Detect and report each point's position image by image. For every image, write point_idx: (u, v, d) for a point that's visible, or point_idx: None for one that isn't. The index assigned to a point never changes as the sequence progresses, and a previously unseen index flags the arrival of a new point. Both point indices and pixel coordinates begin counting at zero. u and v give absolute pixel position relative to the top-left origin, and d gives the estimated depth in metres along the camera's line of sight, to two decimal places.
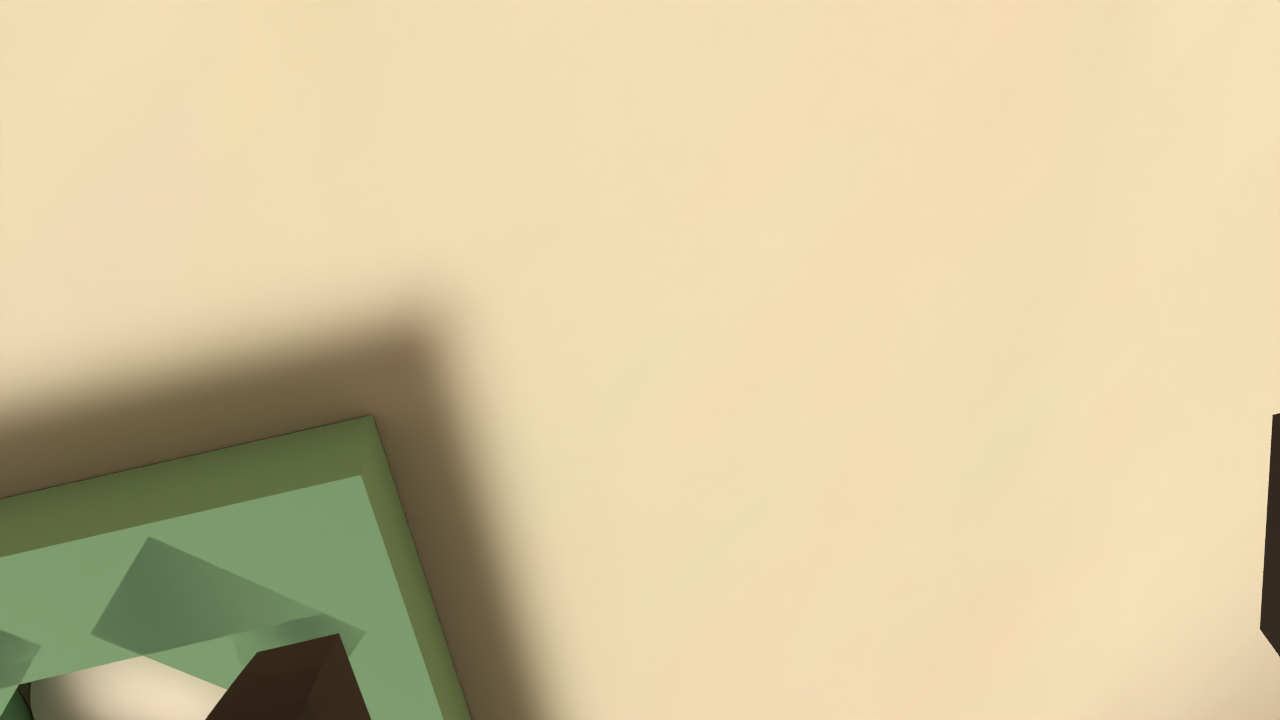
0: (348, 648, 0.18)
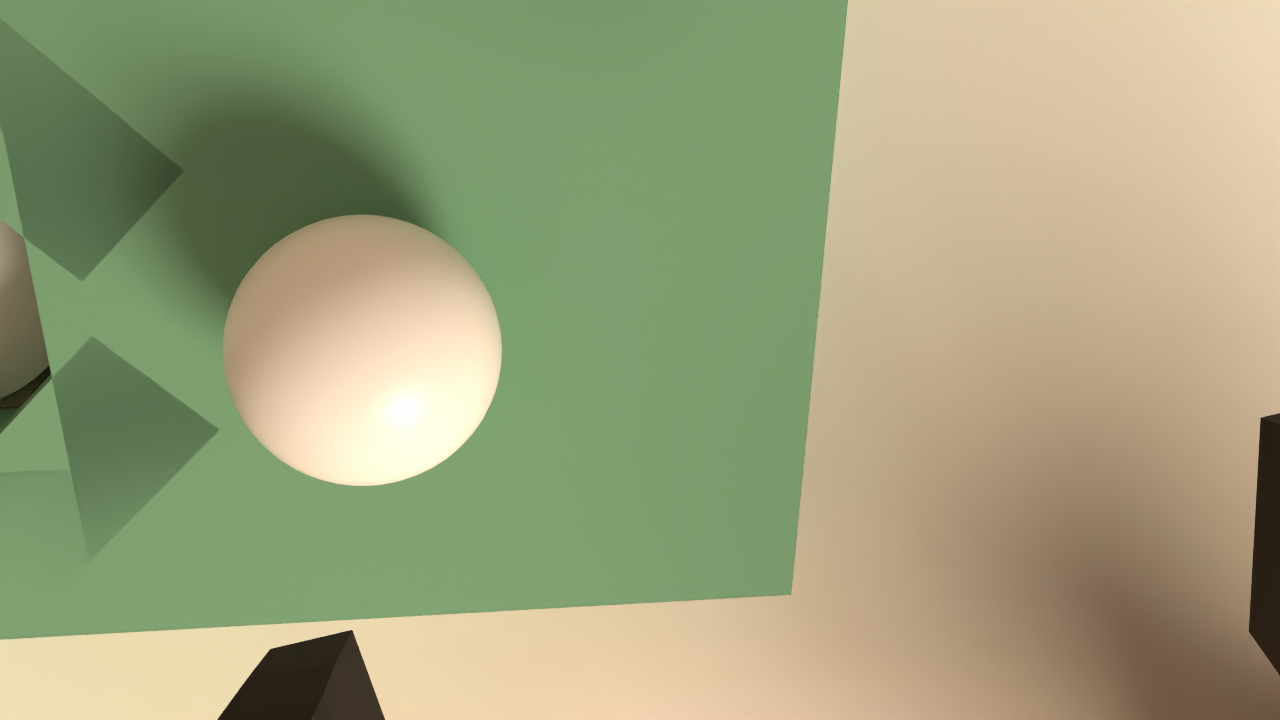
0: None
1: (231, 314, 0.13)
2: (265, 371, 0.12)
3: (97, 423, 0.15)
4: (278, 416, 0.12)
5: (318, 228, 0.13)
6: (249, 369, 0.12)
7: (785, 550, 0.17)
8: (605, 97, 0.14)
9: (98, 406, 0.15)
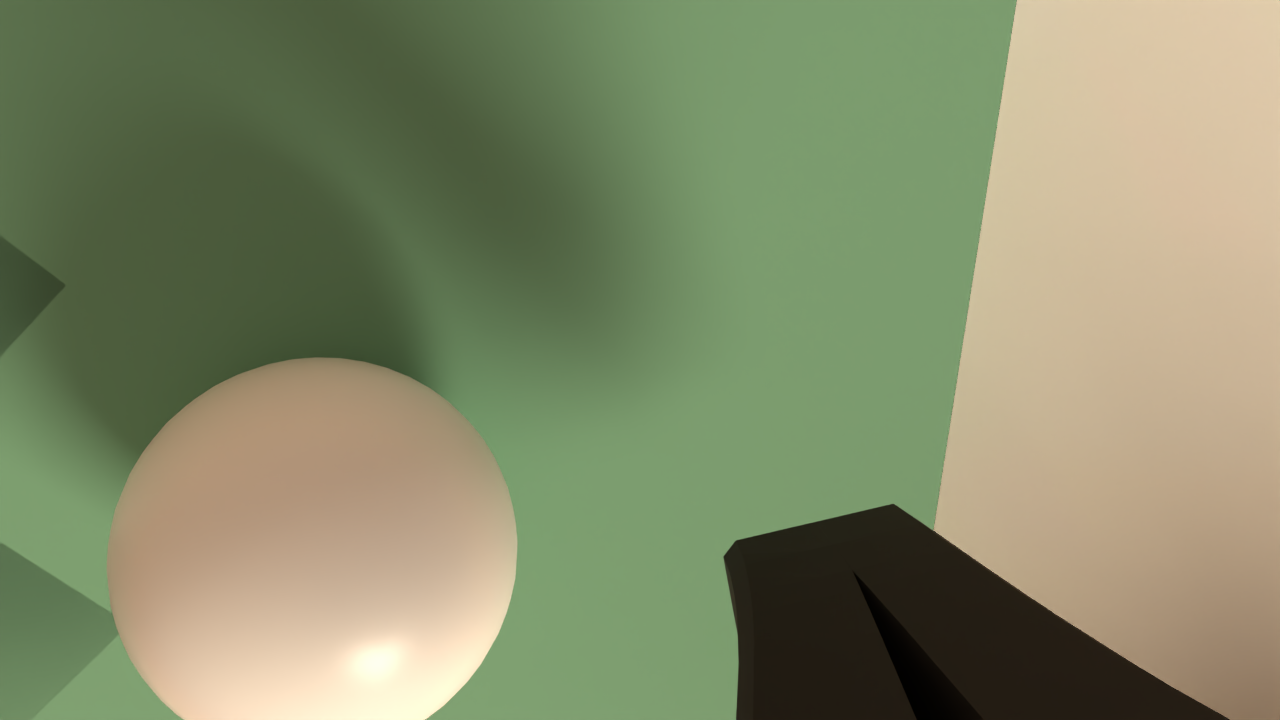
0: None
1: (116, 518, 0.08)
2: (160, 619, 0.08)
3: None
4: (181, 684, 0.08)
5: (247, 389, 0.08)
6: (137, 612, 0.08)
7: None
8: (664, 181, 0.10)
9: None
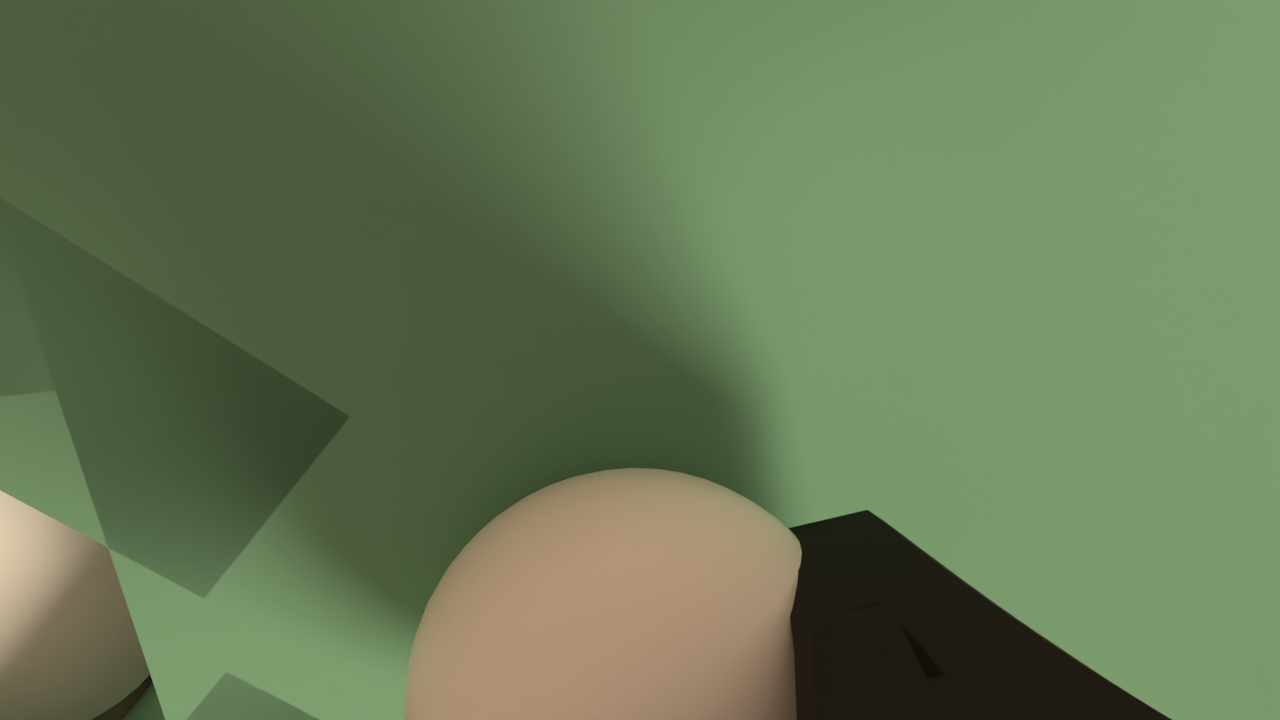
0: None
1: (413, 659, 0.07)
2: None
3: None
4: None
5: (550, 515, 0.07)
6: None
7: None
8: (1016, 219, 0.09)
9: None
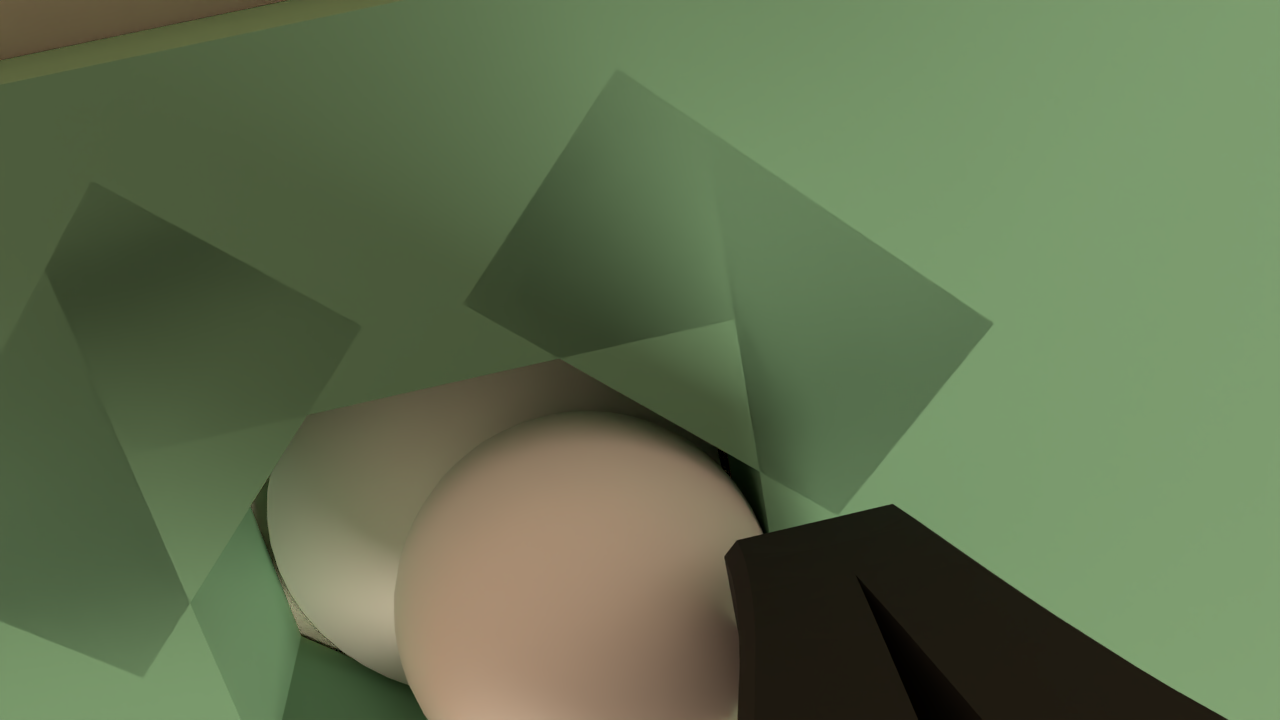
0: (149, 222, 0.08)
1: (725, 472, 0.10)
2: None
3: None
4: None
5: (588, 429, 0.09)
6: None
7: None
8: None
9: None
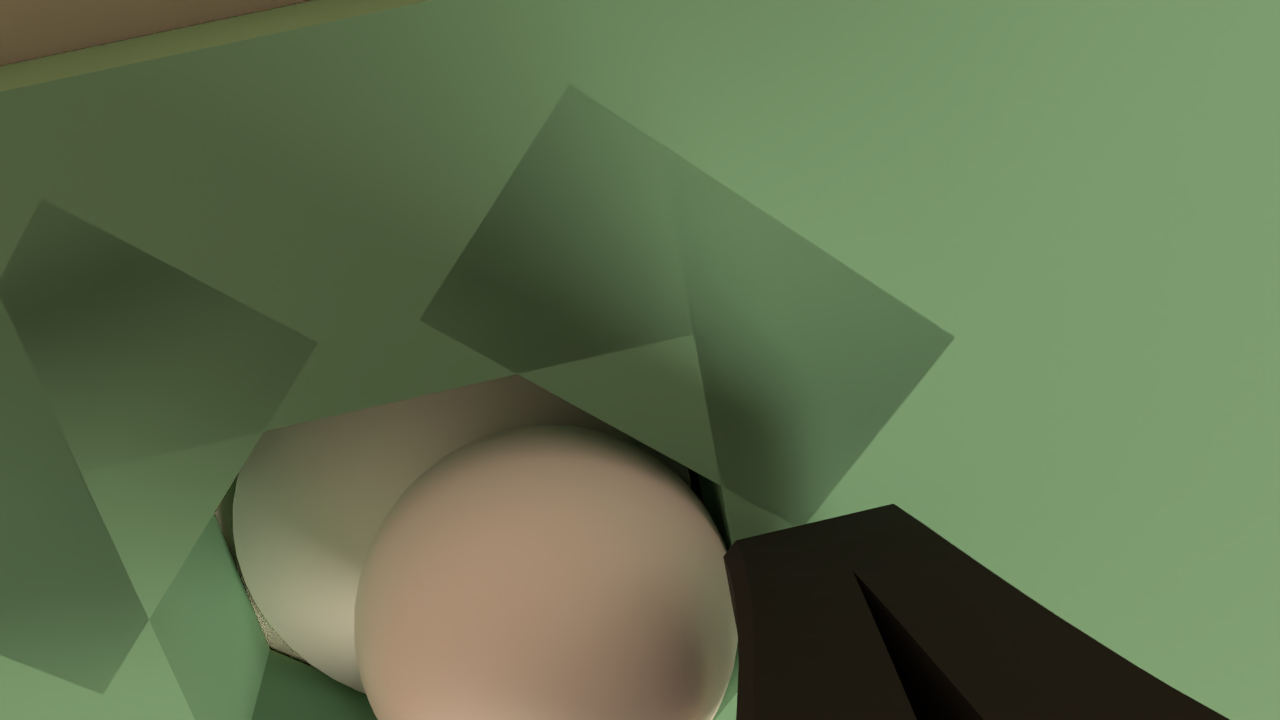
0: (101, 239, 0.08)
1: None
2: None
3: None
4: None
5: (547, 444, 0.09)
6: None
7: None
8: None
9: None
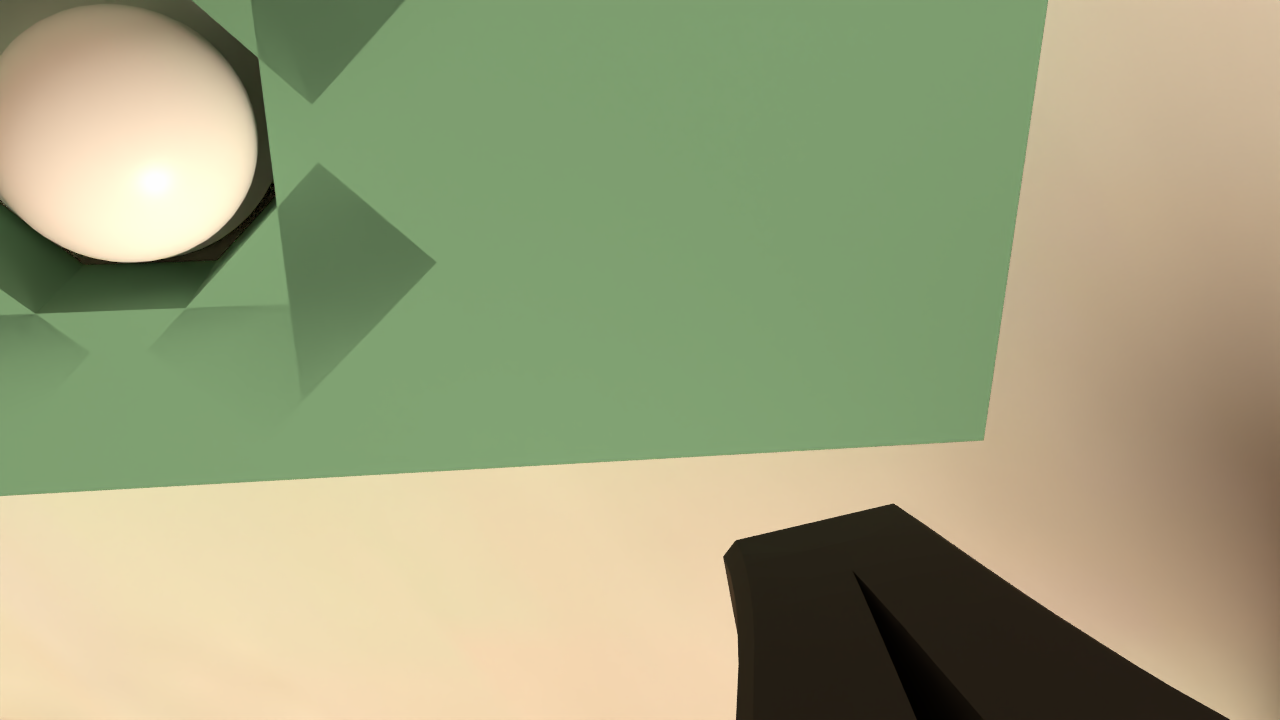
0: None
1: (234, 73, 0.14)
2: None
3: (318, 255, 0.15)
4: None
5: (131, 7, 0.14)
6: None
7: (980, 393, 0.17)
8: None
9: (320, 237, 0.15)
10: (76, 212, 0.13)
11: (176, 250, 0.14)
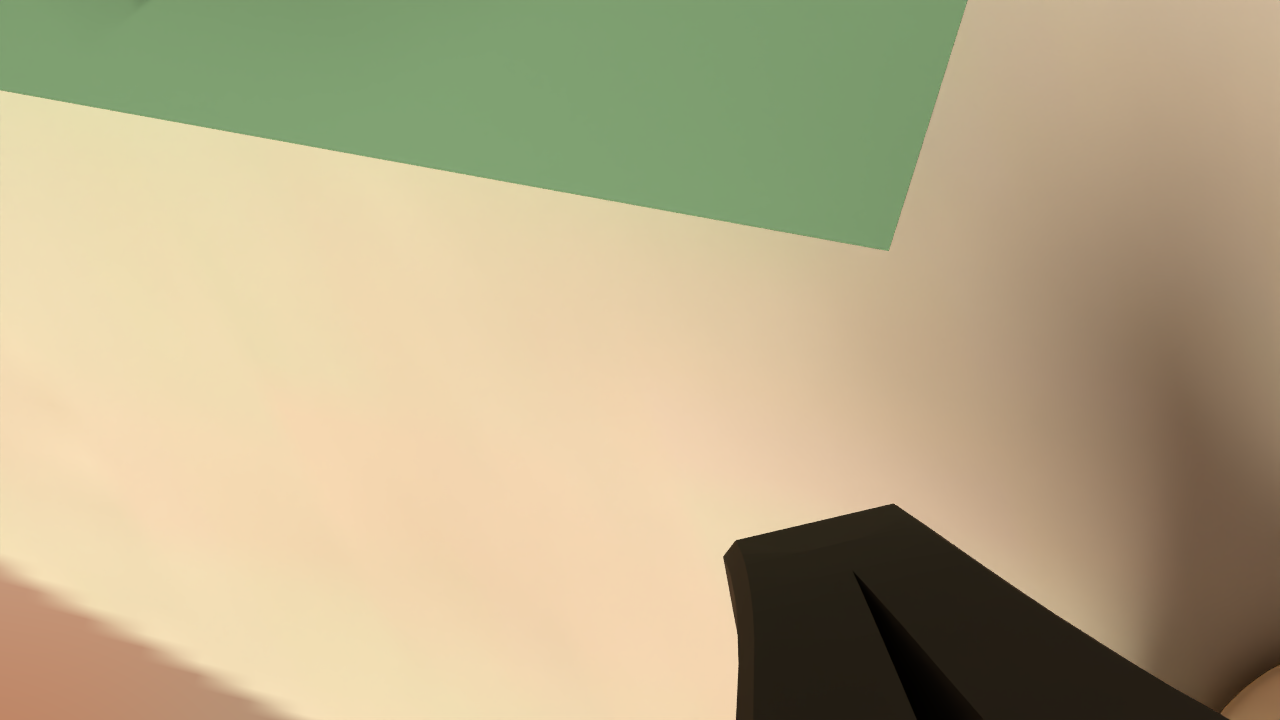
0: None
1: None
2: None
3: None
4: None
5: None
6: None
7: (895, 193, 0.16)
8: None
9: None
10: None
11: None
